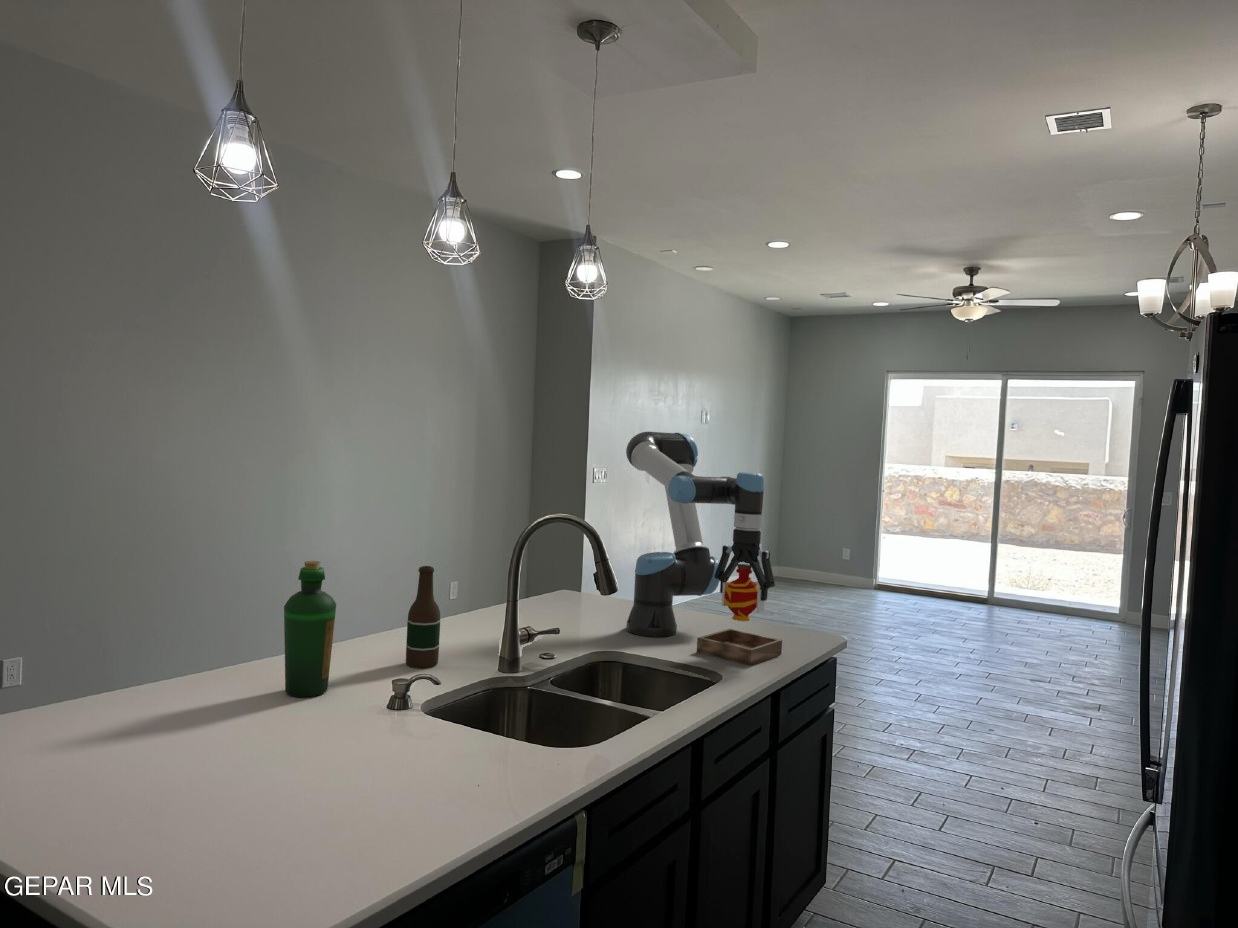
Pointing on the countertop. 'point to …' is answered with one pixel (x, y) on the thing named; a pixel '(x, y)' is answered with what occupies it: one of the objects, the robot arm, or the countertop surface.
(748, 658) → the walnut tray
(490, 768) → the countertop surface
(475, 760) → the countertop surface
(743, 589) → the potion bottle
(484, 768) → the countertop surface
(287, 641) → the bottle
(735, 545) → the robot arm
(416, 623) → the beer bottle
